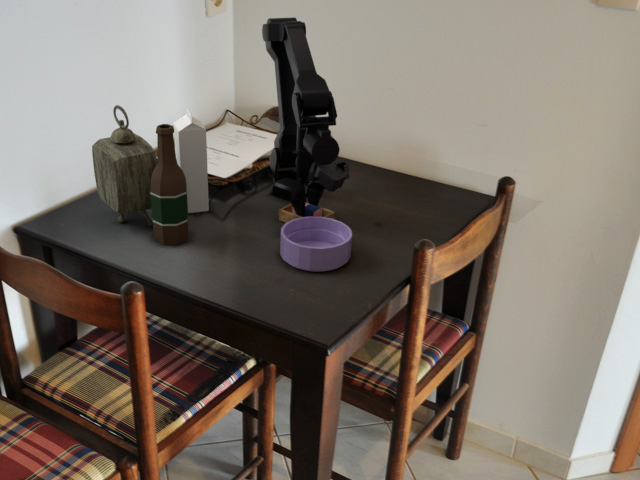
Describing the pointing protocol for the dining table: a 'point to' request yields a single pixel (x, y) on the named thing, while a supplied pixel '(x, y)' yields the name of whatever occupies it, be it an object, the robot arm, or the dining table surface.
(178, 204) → the beer bottle
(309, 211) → the eraser
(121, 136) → the tabletop clock
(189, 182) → the milk
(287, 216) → the tray
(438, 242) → the dining table surface
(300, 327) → the dining table surface
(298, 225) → the bowl
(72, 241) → the dining table surface
